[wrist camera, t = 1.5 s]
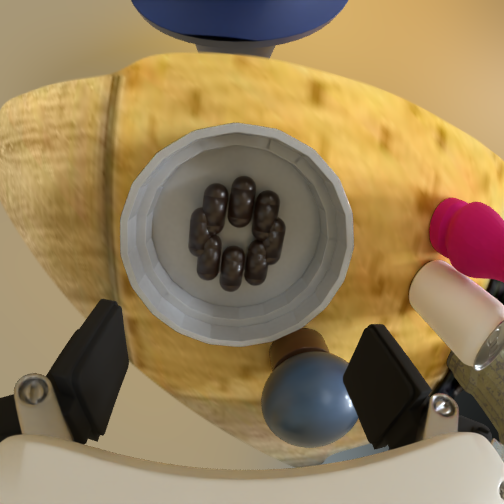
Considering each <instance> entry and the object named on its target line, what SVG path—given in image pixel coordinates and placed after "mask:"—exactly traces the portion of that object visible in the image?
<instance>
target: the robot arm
mask: <svg viewBox="0 0 504 504" xmlns="http://www.w3.org/2000/svg"><path fill="white" fill-rule="evenodd" d="M128 365H129V359H128V353H127V346H126V339H125V332H124V324H123V315H122V308H121V306H118V304H117V302H116V301H112V300H106V299H101V300H100V301H99V303H98V304H97V305H96V307H95V308H94V309H93V311H92V312H91V313H90V315H89V316H88V318H87V319H86V320H85V322H84V323H83V325H82V326H81V327H80V329H78V330H77V331H76V332H75V333H74V334H73V336H72V337H71V339H70V340H69V341H68V343H67V344H66V346H65V348H64V349H63V350H62V352H61V354H60V355H59V356H58V358H57V360H56V361H55V363H54V364H53V366H52V367H51V369H50V371H49V372H48V374H47V375H46V376H44V375H41V374H37V373H33V374H27V375H25V376H23V377H22V378H20V379H19V380H18V381H17V383H16V385H15V387H14V394H13V395H9V396H6V397H3V398H0V504H504V445H503V444H501V443H500V442H498V441H497V440H495V439H494V438H493V440H492V436H491V433H490V430H489V428H488V427H487V426H485V425H483V424H481V423H478V422H476V421H473V420H471V419H468V418H465V417H463V416H461V415H459V411H458V406H457V403H456V402H455V401H454V399H452V398H451V397H450V396H448V395H446V394H442V393H437V394H434V395H433V396H432V397H431V398H429V396H428V395H429V394H430V392H431V391H432V390H431V388H430V387H429V385H428V384H427V383H426V381H425V380H424V378H423V377H422V375H421V374H420V373H419V371H418V370H417V368H416V367H415V366H414V364H413V363H412V362H411V360H410V359H409V357H408V356H407V355H406V353H405V352H404V351H403V349H402V348H401V347H400V345H399V344H398V343H397V341H396V340H395V339H394V337H393V336H392V335H391V334H390V332H389V331H388V330H387V328H386V327H385V326H384V325H382V324H371V325H369V326H368V327H367V328H365V329H364V331H363V333H362V336H361V338H360V340H359V343H358V345H357V347H356V349H355V352H354V354H353V356H352V358H351V360H350V362H349V364H348V366H347V369H346V371H345V373H344V375H343V383H344V386H345V388H346V390H347V392H348V395H349V397H350V399H351V402H352V404H353V406H354V408H355V411H356V413H357V415H358V418H359V420H360V423H361V425H362V427H363V430H364V432H365V434H366V437H367V439H368V441H369V443H371V444H372V445H373V447H374V449H378V448H382V447H385V446H386V445H387V444H388V446H389V450H388V451H386V452H382V453H378V454H374V455H370V456H366V457H361V458H357V459H352V460H347V461H342V462H336V463H330V464H323V465H316V466H308V467H299V468H288V469H270V470H226V469H207V468H197V467H187V466H179V465H172V464H165V463H160V462H154V461H149V460H144V459H138V458H134V457H129V456H125V455H121V454H117V453H113V452H108V451H105V450H102V449H98V448H94V447H91V446H87V445H84V444H85V443H86V442H87V439H91V440H94V441H98V439H99V436H100V435H104V434H105V431H106V428H107V425H108V422H109V419H110V416H111V413H112V410H113V407H114V404H115V402H116V399H117V396H118V393H119V390H120V387H121V385H122V382H123V380H124V377H125V374H126V372H127V369H128Z"/></svg>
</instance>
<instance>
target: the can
mask: <svg viewBox="0 0 504 504" xmlns="http://www.w3.org/2000/svg"><path fill="white" fill-rule="evenodd" d="M409 301H410V304H411V306H412V307H413V308H414V309H415V311H416V312H417V313H418V314H419V315H420V316H421V317H422V318H423V319H424V320H425V321H426V322H427V323H428V325H429V326H430V327H431V328H432V329H433V330H434V331H435V332H436V333H437V334H438V336H439V337H440V338H441V339H442V340H443V341H444V342H445V343H446V345H447V346H448V347H449V348H450V349H451V350H452V351H453V352H454V354H455V355H456V356H457V357H458V358H459V359H460V360H461V361H462V362H463V363H464V364H466V365H468V366H472V367H473V368H474V370H475V371H480V370H482V369H484V368H485V367H487V366H488V365H489V364H490V363H491V362H493V361H494V359H495V358H496V357H497V356H498V355H499V354H500V352H501V351H502V350H503V348H504V305H503V304H502V303H500V302H499V301H498V300H497V299H496V298H494V297H493V296H492V295H491V294H489V293H488V292H487V291H485V290H484V289H483V288H482V287H480V286H479V285H478V284H476V283H475V282H474V281H472V280H471V279H469V278H468V277H467V276H465V275H464V274H462V273H460V272H458V271H457V270H456V269H455V268H454V267H452V266H451V265H449V264H448V263H446V262H445V261H443V260H434V261H431V262H429V263H427V264H425V265H424V266H423V267H422V268H421V269H420V270H419V271H418V273H417V274H416V275H415V277H414V279H413V281H412V283H411V286H410V291H409Z"/></svg>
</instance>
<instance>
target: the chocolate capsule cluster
mask: <svg viewBox="0 0 504 504" xmlns="http://www.w3.org/2000/svg"><path fill="white" fill-rule="evenodd" d="M255 194H256V184H255V182H254V180H253V179H252V178H250V177H248V176H239V177H237V178H236V179H235V180H234V181H233V183H232V186H231V193H230V200H229V207H228V215H227V217H228V221H229V223H230V224H231V225H232V226H234V227H236V228H243V227H245V226H247V225H248V224H249V223H250V221H251V218H252V213H253V207H254V200H255ZM228 195H229V194H228V190H227V189H226V187H225V186H224V185H222V184H220V183H213V184H210V185H209V186H208V187H207V188H206V189H205V191H204V197H203V205H202V207H200V208H197V209H195V210H194V211H193V213H192V214H191V218H190V229H189V241H188V248H189V251H190V253H191V254H192V255H193V256H195V257H197V268H196V269H197V274H198V276H199V277H200V278H201V279H203V280H206V281H210V280H213V279H214V278H216V277H217V275H218V273H219V266H220V258H221V250H222V241H221V239H220V237H219V236H218V235H216V234H218V233H220V232H221V231H222V230H223V228H224V225H225V218H226V211H227V203H228ZM279 207H280V198H279V196H278V195H277V193H275V192H274V191H271V190H265V191H262V192H261V193H259V195H258V196H257V198H256V202H255V209H254V215H253V221H252V228H251V231H252V234H253V236H254V237H255V238H256V240H254V241H252V242H251V243H250V245H249V247H248V252H247V259H246V265H245V271H244V278H245V280H246V282H247V283H248V284H250V285H252V286H258V285H261V284H262V283H263V282H264V281H265V279H266V276H267V271H268V266H269V265H274V264H276V263H277V262H278V261H279V259H280V256H281V251H282V246H283V241H284V237H285V231H286V225H285V223H284V221H283V220H282V219H281V218H279V217H278V213H279ZM244 263H245V253H244V251H243V249H242V248H240V247H239V246H235V245H232V246H229V247H227V248H226V249H225V250H224V252H223V254H222V261H221V270H220V278H219V283H220V286H221V287H222V289H223V290H225V291H227V292H234V291H236V290H238V289H239V287H240V286H241V283H242V276H243V270H244Z"/></svg>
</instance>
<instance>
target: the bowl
mask: <svg viewBox="0 0 504 504" xmlns="http://www.w3.org/2000/svg"><path fill="white" fill-rule="evenodd" d="M239 176H248V177H250V178H252V179H253V180H254V182H255V184H256V194H255V200H254V207H253V213H252V218H251V221H250V223H249V224H248V225H247V226H245V227H243V228H236V227H234V226H232V225H231V224H230V223H229V221H228V217H227V215H228V207H229V200H230V193H231V186H232V183H233V181H234V180H235V179H236V178H237V177H239ZM213 183H220V184H222V185H224V186H225V187H226V189H227V190H228V194H229V195H228V203H227V211H226V218H225V225H224V228H223V230H222V231H221V232H220V233H218V234H216V235H218V236H219V237H220V239H221V241H222V250H221V258H220V266H219V273H218V275H217V277H216V278H214V279H213V280H210V281H206V280H203V279H201V278H200V277H199V276H198V274H197V269H196V268H197V257H195V256H193V255H192V254H191V253H190V251H189V248H188V241H189V229H190V218H191V214H192V213H193V211H194V210H195V209H197V208H200V207H202V205H203V197H204V191H205V189H206V188H207V187H208V186H209V185H210V184H213ZM265 190H271V191H274V192H275V193H277V195H278V196H279V198H280V207H279V213H278V217H279V218H281V219H282V220H283V221H284V223H285V225H286V231H285V237H284V241H283V246H282V251H281V256H280V259H279V261H278V262H277V263H276V264H274V265H269V266H268V271H267V276H266V279H265V281H264V282H263V283H262V284H261V285H258V286H252V285H250V284H248V283H247V282H246V280H245V278H244V271H245V265H246V259H247V252H248V247H249V245H250V243H251V242H252V241H254V240H256V238H255V237H254V236H253V234H252V231H251V228H252V221H253V215H254V209H255V202H256V198H257V196H258V195H259V193H261V192H262V191H265ZM232 245H235V246H239V247H240V248H242V249H243V251H244V253H245V263H244V270H243V276H242V283H241V286H240V287H239V289H238V290H236V291H234V292H227V291H225V290H223V289H222V287H221V286H220V283H219V278H220V270H221V261H222V254H223V252H224V250H225V249H226V248H227V247H229V246H232ZM353 249H354V234H353V213H352V210H351V207H350V204H349V202H348V199H347V197H346V194H345V191H344V189H343V186H342V184H341V182H340V179H339V178H338V176H337V175H336V174H335V173H334V172H333V170H332V169H331V168H330V167H329V166H328V165H327V163H326V162H325V161H324V160H323V159H322V158H321V157H320V156H319V154H318V153H317V152H316V151H315V150H313V148H311V147H309V146H307V145H306V144H304V143H302V142H300V141H299V140H297V139H295V138H293V137H291V136H290V135H288V134H286V133H284V132H282V131H280V130H277V129H274V128H268V127H262V126H256V125H249V124H243V123H230V124H224V125H219V126H214V127H209V128H204V129H199V130H195V131H192V132H190V133H189V134H187V135H185V136H183V137H182V138H180V139H178V140H177V141H175V142H173V143H172V144H170V145H168V146H167V147H165V148H163V149H162V150H160V151H159V152H158V153H156V155H155V156H154V157H153V158H152V159H151V161H150V162H149V163H148V164H147V165H146V167H145V168H144V169H143V170H142V172H141V173H140V174H139V175H138V177H137V178H136V179H135V181H134V182H133V184H132V186H131V188H130V191H129V194H128V197H127V200H126V203H125V205H124V208H123V211H122V215H121V218H120V254H121V258H122V261H123V264H124V267H125V270H126V273H127V275H128V278H129V281H130V284H131V286H132V288H133V289H134V291H135V292H136V293H137V295H138V296H139V297H140V299H141V300H142V301H143V303H144V304H145V305H146V307H147V308H148V309H149V310H150V312H151V313H152V314H153V315H154V316H156V317H157V318H158V319H160V320H161V321H162V322H164V323H165V324H167V325H168V326H169V327H171V328H172V329H173V330H175V331H176V332H178V333H180V334H183V335H185V336H188V337H191V338H193V339H196V340H199V341H201V342H204V343H207V344H208V343H209V344H213V345H223V346H235V347H240V346H241V347H243V346H250V345H256V344H261V343H267V342H272V341H274V340H277V339H279V338H281V337H283V336H286V335H288V334H290V333H292V332H294V331H296V330H299V329H301V328H302V327H304V326H305V325H306V324H307V323H308V322H310V321H311V320H312V319H313V318H314V317H316V316H317V315H318V314H319V313H320V312H322V311H323V310H324V309H325V308H326V307H327V306H328V304H329V303H330V301H331V300H332V298H333V297H334V295H335V294H336V292H337V291H338V289H339V288H340V286H341V285H342V283H343V282H344V279H345V276H346V273H347V270H348V267H349V263H350V260H351V256H352V253H353Z"/></svg>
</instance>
